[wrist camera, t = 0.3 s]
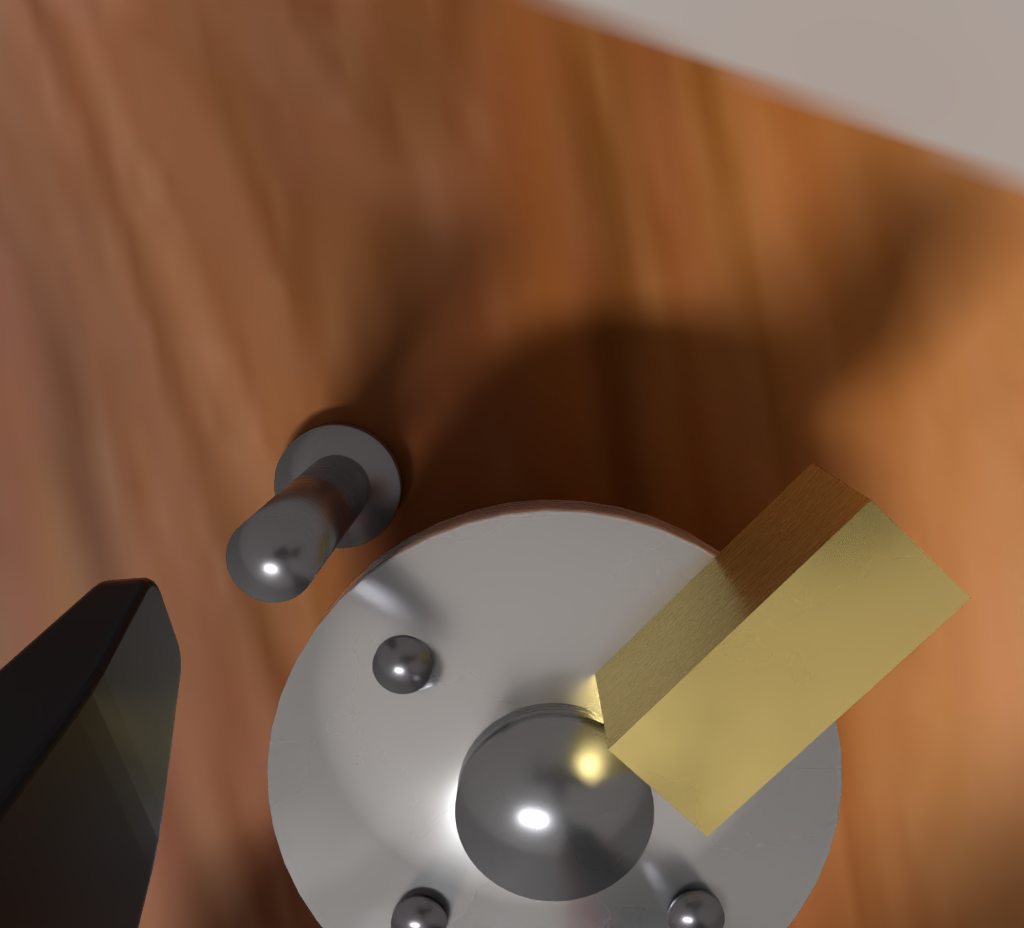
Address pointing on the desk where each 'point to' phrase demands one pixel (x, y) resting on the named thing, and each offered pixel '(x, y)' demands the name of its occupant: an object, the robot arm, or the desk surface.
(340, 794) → the flange plate
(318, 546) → the flanged pin
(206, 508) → the desk surface
